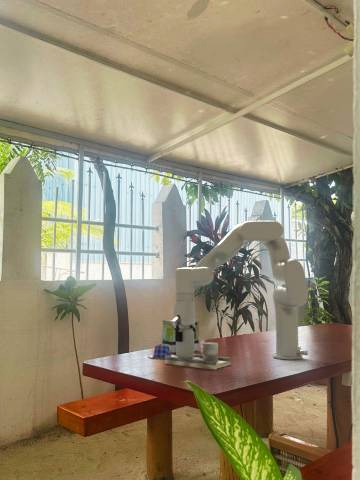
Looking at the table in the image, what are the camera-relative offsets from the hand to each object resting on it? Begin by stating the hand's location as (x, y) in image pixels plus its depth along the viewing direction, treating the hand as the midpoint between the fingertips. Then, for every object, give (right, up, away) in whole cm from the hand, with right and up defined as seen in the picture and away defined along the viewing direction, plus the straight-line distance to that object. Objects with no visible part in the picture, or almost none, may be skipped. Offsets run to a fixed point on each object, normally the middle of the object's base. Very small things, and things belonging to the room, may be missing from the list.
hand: (185, 340), depth 181 cm
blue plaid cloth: (-10, -11, +13) cm, 20 cm away
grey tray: (+5, -9, -4) cm, 11 cm away
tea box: (-2, -13, +33) cm, 35 cm away
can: (0, -7, -1) cm, 7 cm away
